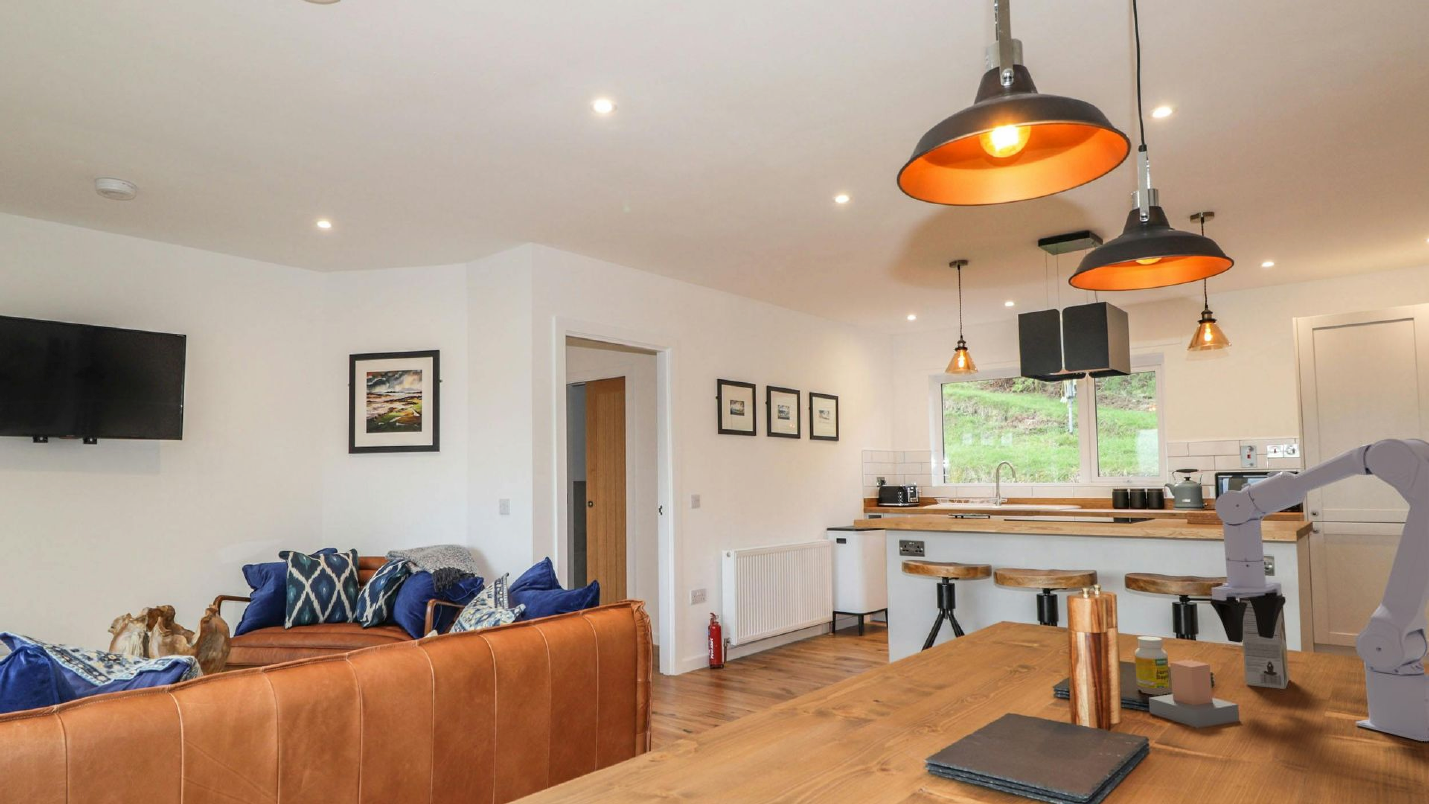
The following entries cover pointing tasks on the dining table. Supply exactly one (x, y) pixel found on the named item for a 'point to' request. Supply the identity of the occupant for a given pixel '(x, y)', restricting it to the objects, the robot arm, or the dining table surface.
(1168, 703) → the slate block
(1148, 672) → the supplement bottle
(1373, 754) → the dining table surface
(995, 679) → the dining table surface
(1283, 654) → the coffee box
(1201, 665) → the terracotta block
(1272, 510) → the robot arm
